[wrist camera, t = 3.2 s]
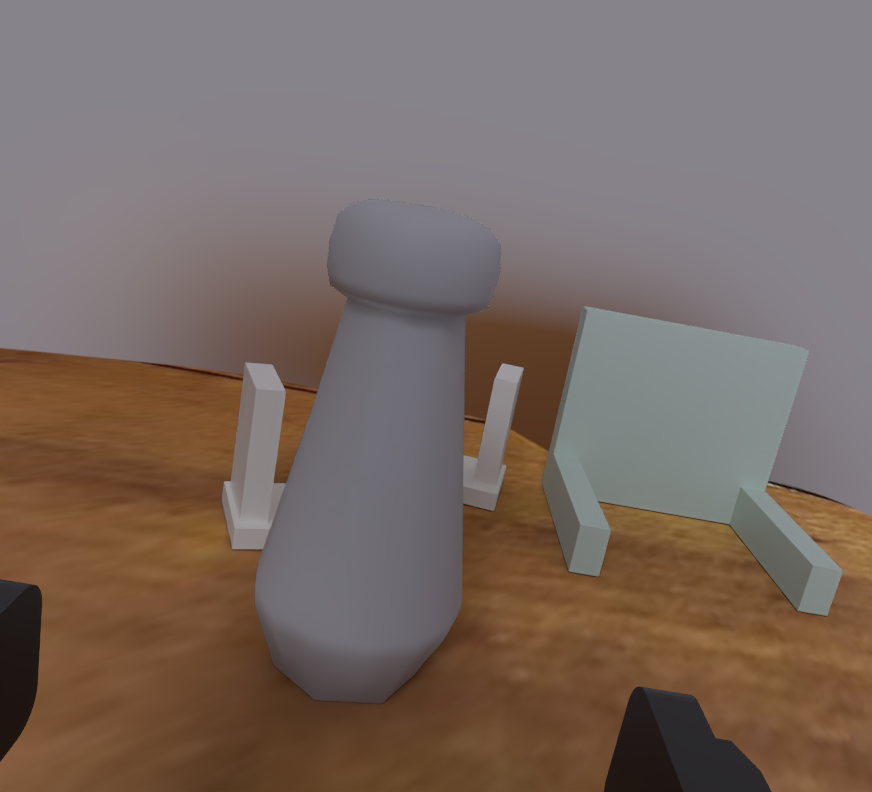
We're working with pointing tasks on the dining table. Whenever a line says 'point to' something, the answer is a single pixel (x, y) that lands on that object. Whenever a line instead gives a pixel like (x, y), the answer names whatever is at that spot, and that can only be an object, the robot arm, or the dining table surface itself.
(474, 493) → the clip
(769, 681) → the dining table surface
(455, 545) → the salt shaker
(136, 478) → the dining table surface
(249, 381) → the clip
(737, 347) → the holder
